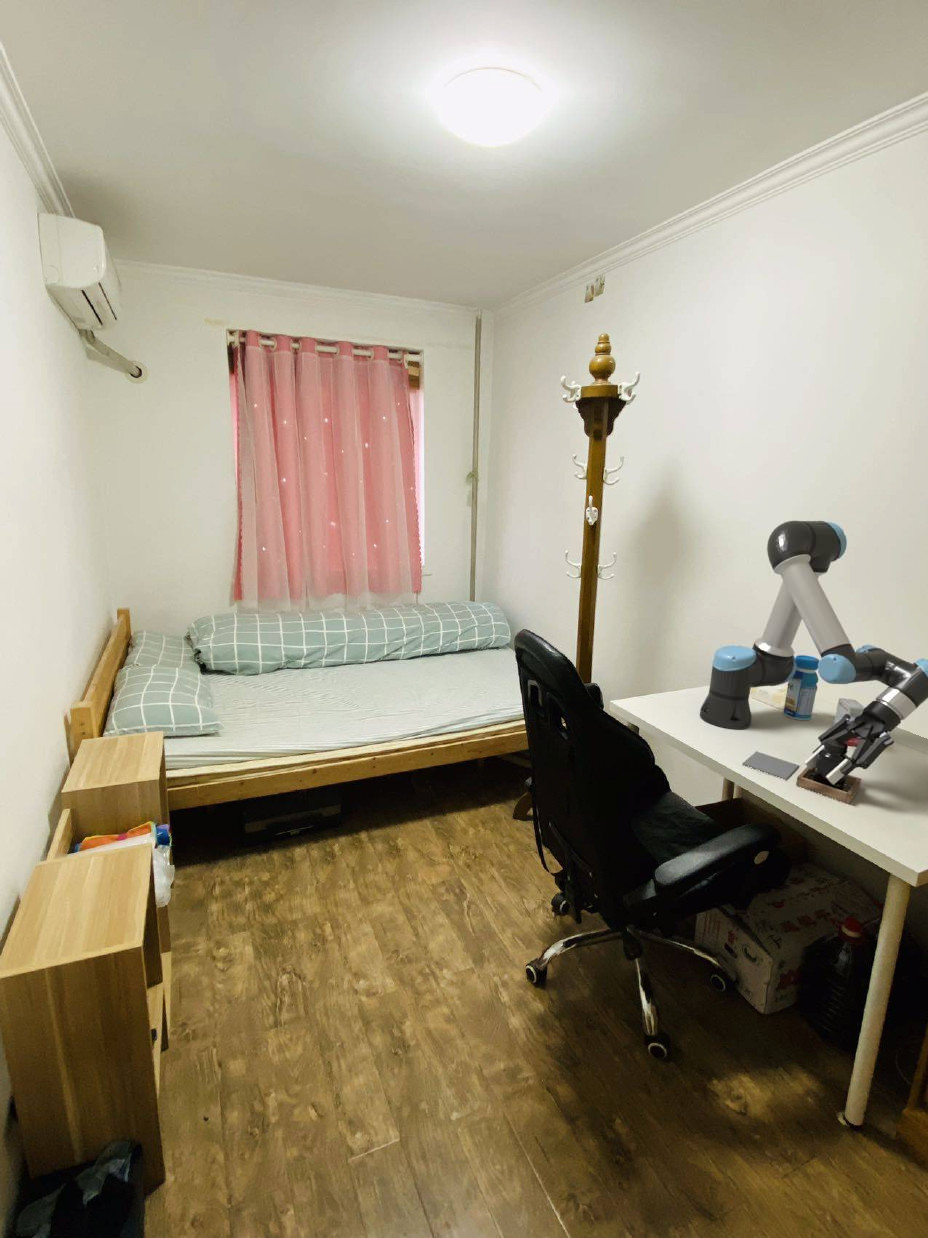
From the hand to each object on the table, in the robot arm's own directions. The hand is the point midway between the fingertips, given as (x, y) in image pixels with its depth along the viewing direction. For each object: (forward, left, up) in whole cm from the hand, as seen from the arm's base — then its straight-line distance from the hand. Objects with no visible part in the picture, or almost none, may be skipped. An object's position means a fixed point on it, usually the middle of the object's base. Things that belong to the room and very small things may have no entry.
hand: (818, 773), depth 150 cm
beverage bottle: (-18, +49, -4) cm, 52 cm away
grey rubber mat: (-12, +4, -4) cm, 13 cm away
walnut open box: (+2, +3, -4) cm, 5 cm away
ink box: (-2, +40, -4) cm, 40 cm away
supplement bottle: (+2, +3, -4) cm, 6 cm away
